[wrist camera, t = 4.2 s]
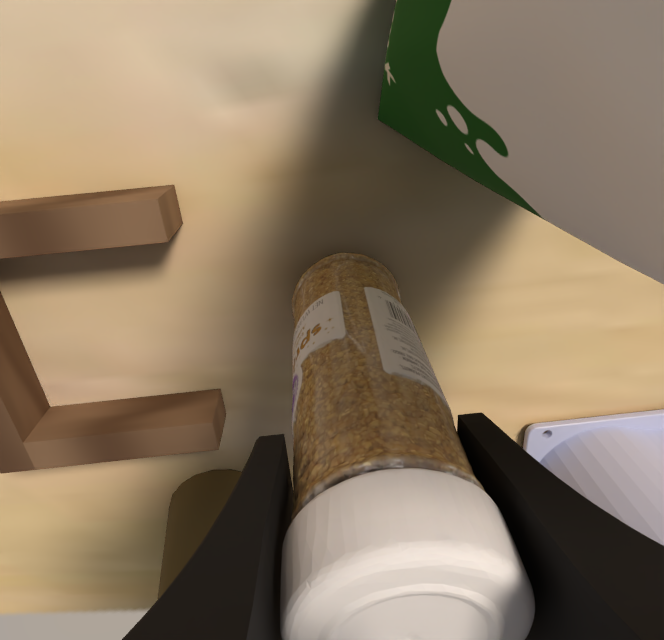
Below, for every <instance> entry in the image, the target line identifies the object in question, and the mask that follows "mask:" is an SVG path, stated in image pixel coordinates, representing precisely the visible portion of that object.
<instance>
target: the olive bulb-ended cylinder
mask: <svg viewBox="0 0 664 640" xmlns="http://www.w3.org/2000/svg"><path fill="white" fill-rule="evenodd" d="M241 474H242V472H239V471H234V470H212V471H208V472H205V473H201V474H198V475H195V476H193V477H192V478H190V479H188V480H187V481H185V482H184V483H182V484H181V485H180V486H179V488H178V489H177V490H176V491H175V493H174V494H173V495H172V499H171V503H170V507H169V514H168V522H167V530H166V537H165V545H164V553H163V561H162V569H161V577H160V585H159V593H158V599H159V598H160V597H161V595H162V594H163V593H164V592H165V590H166V589H167V588H168V587H169V585H170V584H171V583H172V582H173V580H174V579H175V578H176V577H177V575H178V574H179V573H180V572H181V570H182V569H183V568H184V566H185V565H186V563H187V562H188V561H189V559H190V558H191V557H192V555H193V554H194V552H195V551H196V550H197V548H198V547H199V545H200V544H201V542H202V541H203V539H204V538H205V536H206V535H207V533H208V532H209V530H210V528H211V527H212V525H213V524H214V522H215V520H216V519H217V517H218V515H219V514H220V512H221V511H222V509H223V507H224V506H225V504H226V502H227V500H228V498H229V497H230V495H231V493H232V491H233V489H234V487H235V485H236V484H237V482H238V480H239V478H240V476H241Z"/></svg>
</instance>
